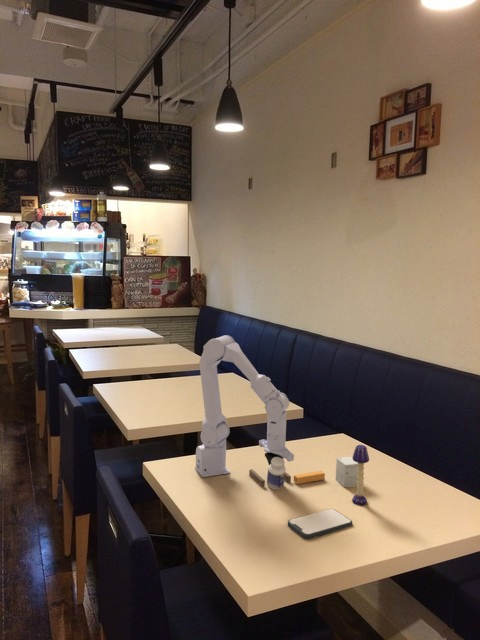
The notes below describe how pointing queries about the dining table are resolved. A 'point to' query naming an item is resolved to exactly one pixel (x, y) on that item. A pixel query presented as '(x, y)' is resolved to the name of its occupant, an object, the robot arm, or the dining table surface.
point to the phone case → (319, 523)
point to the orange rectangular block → (309, 477)
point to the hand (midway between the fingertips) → (275, 475)
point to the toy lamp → (360, 473)
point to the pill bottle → (276, 473)
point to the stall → (261, 480)
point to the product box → (346, 471)
